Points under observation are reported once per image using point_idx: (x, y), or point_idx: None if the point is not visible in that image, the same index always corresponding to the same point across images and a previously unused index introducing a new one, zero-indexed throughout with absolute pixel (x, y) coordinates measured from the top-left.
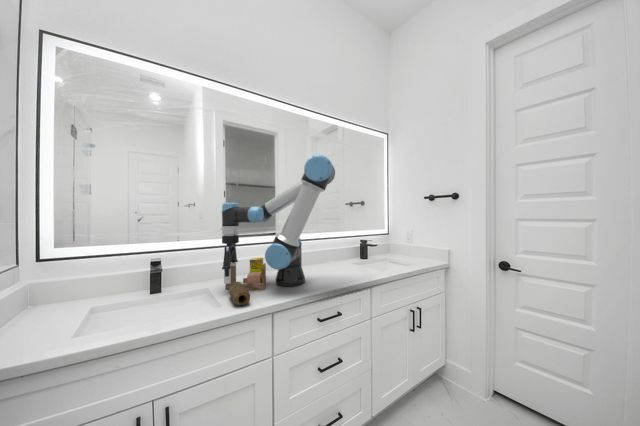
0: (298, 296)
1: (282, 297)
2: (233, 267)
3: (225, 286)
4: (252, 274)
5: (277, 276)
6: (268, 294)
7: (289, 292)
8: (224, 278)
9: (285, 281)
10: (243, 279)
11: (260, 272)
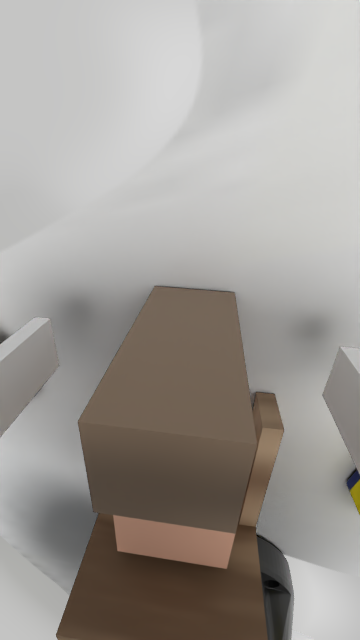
0: (21, 542)
1: (8, 508)
2: (107, 506)
3: (149, 296)
4: (160, 523)
5: None
6: (44, 479)
7: (67, 533)
8: (2, 348)
9: None
10: (261, 424)
11: (211, 563)
